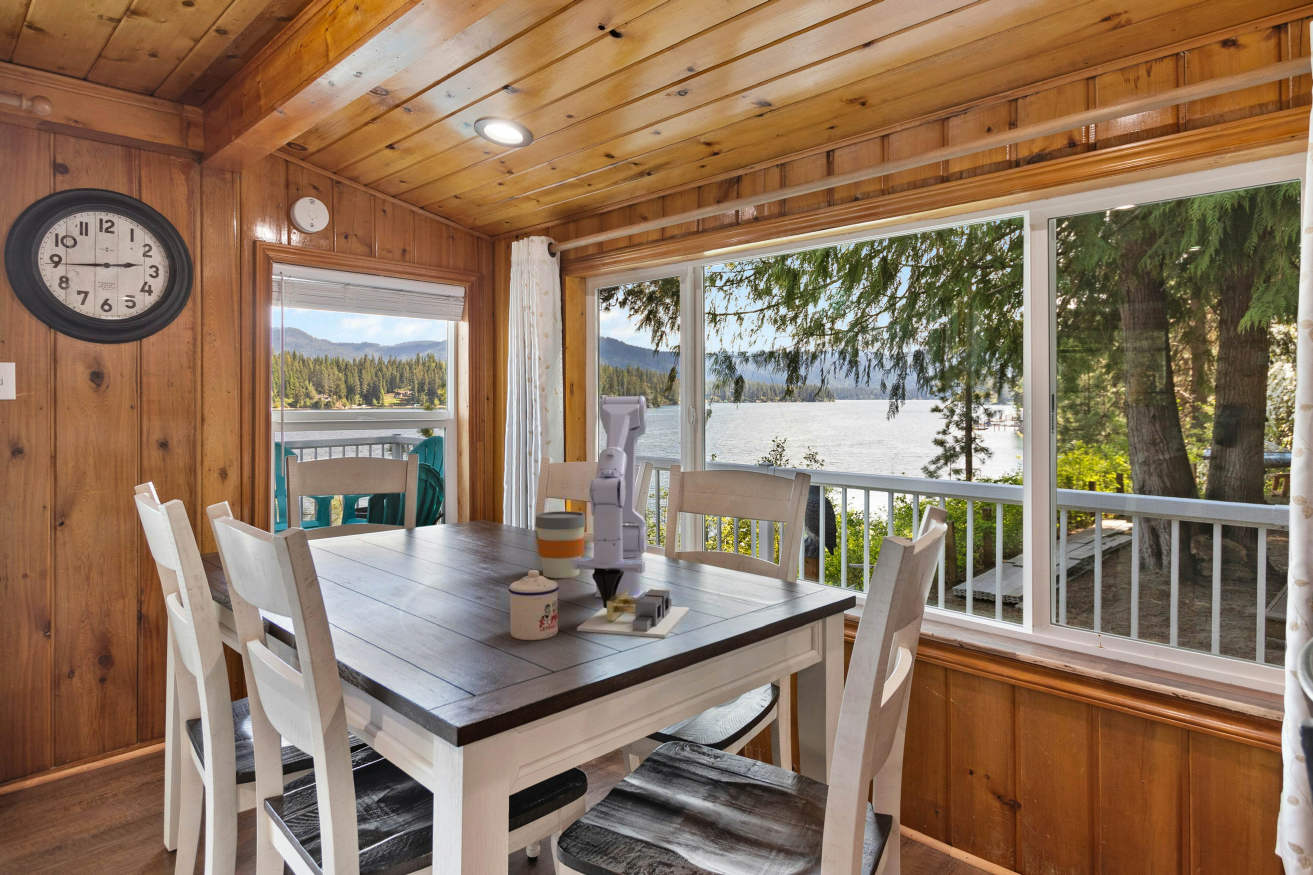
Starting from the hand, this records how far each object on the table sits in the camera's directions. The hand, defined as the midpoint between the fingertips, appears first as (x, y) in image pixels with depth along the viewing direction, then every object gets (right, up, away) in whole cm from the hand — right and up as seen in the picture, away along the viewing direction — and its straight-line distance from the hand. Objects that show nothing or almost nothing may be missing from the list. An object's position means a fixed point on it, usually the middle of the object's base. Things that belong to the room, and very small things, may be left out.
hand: (608, 606), depth 148 cm
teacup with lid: (-13, -3, -8) cm, 15 cm away
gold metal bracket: (+5, -1, -1) cm, 6 cm away
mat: (+5, -2, -1) cm, 6 cm away
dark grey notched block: (+10, -1, +2) cm, 10 cm away
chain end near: (+7, -2, -7) cm, 10 cm away
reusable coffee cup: (-14, -1, +40) cm, 42 cm away
